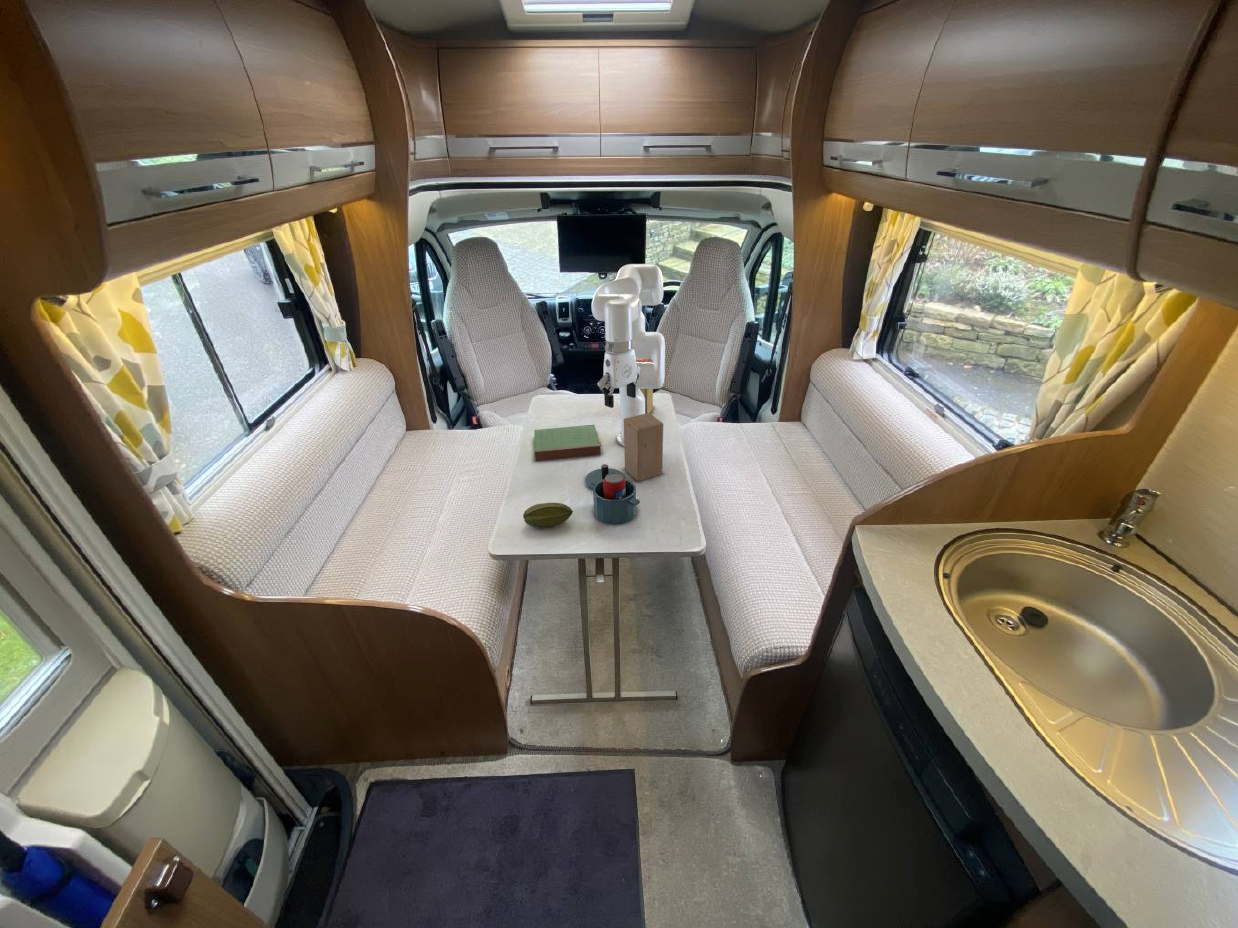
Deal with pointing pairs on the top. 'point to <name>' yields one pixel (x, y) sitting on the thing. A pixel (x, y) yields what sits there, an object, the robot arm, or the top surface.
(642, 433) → the wooden block
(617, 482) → the beverage can
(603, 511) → the pot
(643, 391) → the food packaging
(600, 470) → the pot lid
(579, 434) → the book
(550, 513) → the fruit
